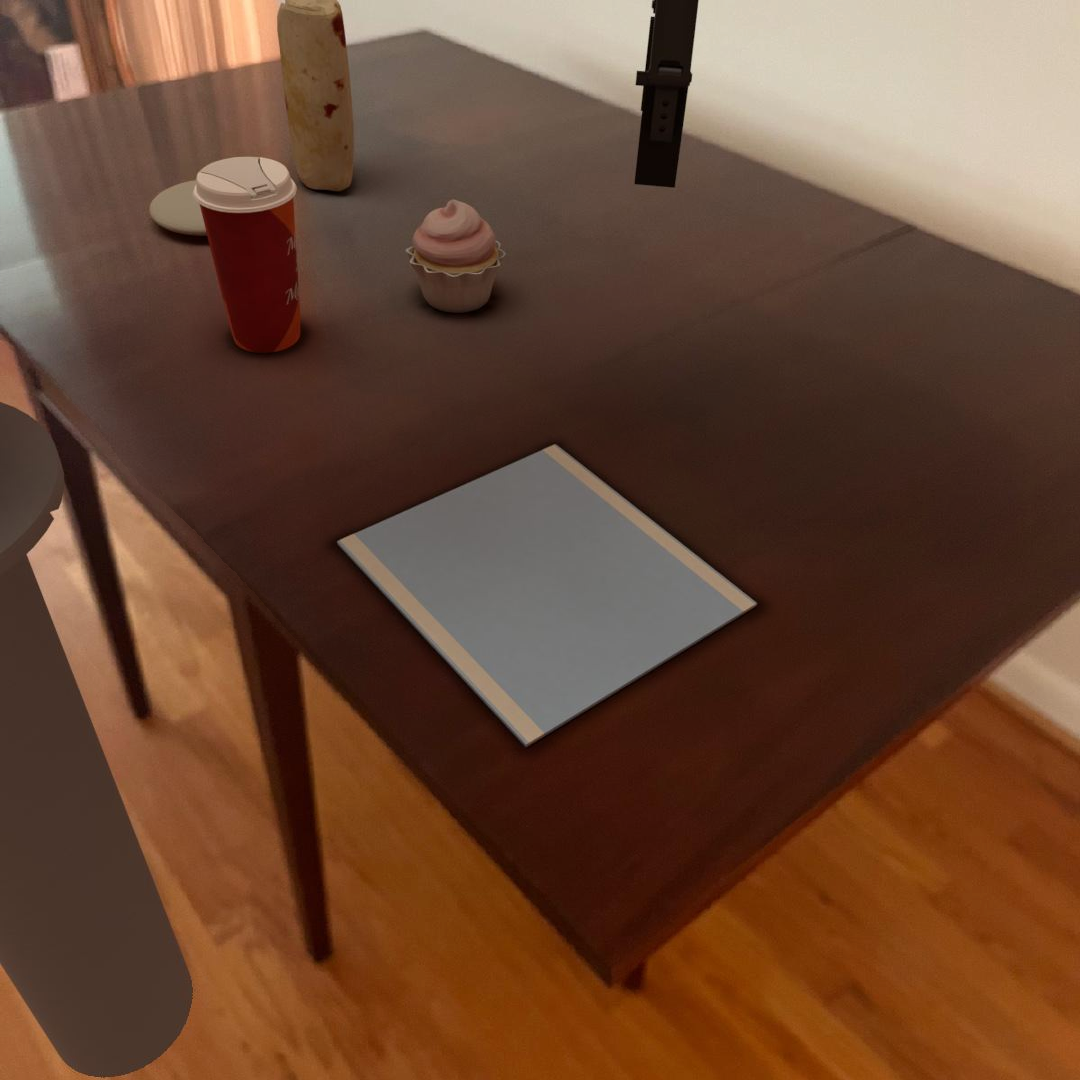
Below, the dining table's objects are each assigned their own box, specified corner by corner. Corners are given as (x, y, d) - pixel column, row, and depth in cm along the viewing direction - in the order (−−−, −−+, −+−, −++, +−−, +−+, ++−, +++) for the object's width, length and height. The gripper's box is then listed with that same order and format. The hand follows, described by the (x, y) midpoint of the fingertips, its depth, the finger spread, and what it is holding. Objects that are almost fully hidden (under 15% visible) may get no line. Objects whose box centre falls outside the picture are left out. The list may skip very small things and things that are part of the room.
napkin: (337, 544, 75) (336, 540, 74) (555, 446, 84) (555, 443, 84) (526, 747, 62) (526, 744, 62) (756, 606, 72) (757, 602, 72)
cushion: (136, 242, 107) (129, 214, 105) (172, 192, 116) (167, 165, 114) (253, 249, 107) (249, 221, 105) (281, 199, 116) (277, 172, 114)
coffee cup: (330, 341, 94) (313, 179, 84) (246, 370, 90) (218, 204, 80) (284, 302, 99) (263, 145, 89) (203, 328, 95) (171, 166, 85)
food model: (372, 191, 118) (359, -2, 105) (316, 203, 115) (296, 6, 102) (336, 160, 124) (319, -27, 110) (282, 170, 121) (259, -20, 108)
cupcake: (391, 287, 102) (385, 188, 95) (476, 267, 106) (476, 170, 99) (433, 332, 96) (430, 230, 90) (522, 309, 100) (525, 209, 93)
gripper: (778, -181, 52) (712, 226, 66) (754, -238, 70) (706, 88, 84) (626, -191, 52) (593, 215, 66) (642, -246, 70) (613, 81, 85)
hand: (656, 145), depth 75 cm, fingers open, 13 cm apart
